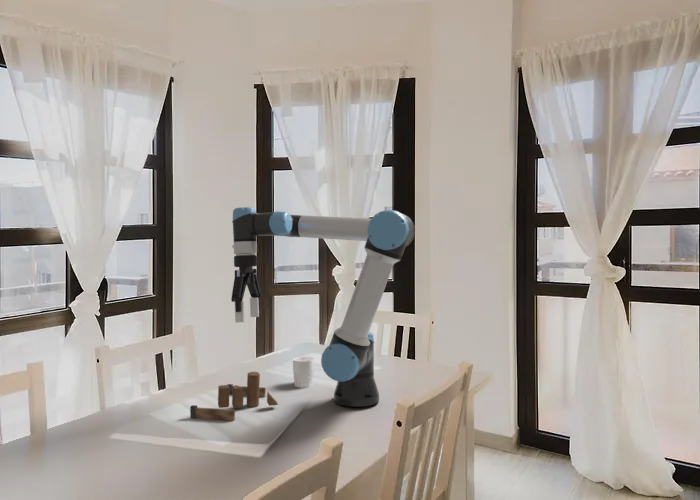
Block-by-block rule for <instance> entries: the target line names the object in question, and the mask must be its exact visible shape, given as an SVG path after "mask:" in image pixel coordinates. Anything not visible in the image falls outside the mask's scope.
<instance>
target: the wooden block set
mask: <svg viewBox="0 0 700 500" xmlns="http://www.w3.org/2000/svg"><path fill="white" fill-rule="evenodd" d="M260 375H261V374H260V372H257V371H250V372H248V373H247V375H246V377H247V378H246V379H247V380H246V381H247V382H246V387H247V396H246V406H247V407H249V408H255V407H258V406H260V405H259V404H260V397H259V387H260ZM239 386H240V385H233V389H232V394H231V397H232V400H231V405H232V407H233V409H234V408H235V409H236V408H243V407H244V395H243V390H242V389H241V388H240V387H239ZM217 387H218V389H217V390H218V391H217V393H218V395H217V406H218V409H226V408H230V394H229V390H230V388H229V386H228V384H224V385H223V384H222V385H221V384H220V385H218V386H217ZM266 403H267V405H268V406H278V405H279V403H278V402H277V400H276V399H275V398H274V397H273V396H272V395H271V394H270V393H269V392H268V391H267V393H266Z"/></svg>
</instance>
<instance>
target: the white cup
mask: <svg viewBox="0 0 700 500" xmlns="http://www.w3.org/2000/svg"><path fill="white" fill-rule="evenodd" d="M292 371H293V372H292V373H293V385H294V387H296V388H300V389H307V388H311V387H313V386H314V374H315V373H314V372H315V358H314V357H312V356H311V357H310V356H299V357H294V358H292Z"/></svg>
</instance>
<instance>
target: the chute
mask: <svg viewBox="0 0 700 500" xmlns="http://www.w3.org/2000/svg"><path fill="white" fill-rule="evenodd" d="M227 385H228V386H229V388H230V390H229V395H232V389H233V386H234V385H233V383H228V384H227ZM238 386H239V387H240V388H241V389H242V390H243V396H244V395H247V385H246V386H243V385H241V386H240V385H238ZM265 397H267V393H266V387H265V386H264V387H262V386H261V387H260V386H259V398H265ZM189 411H190V414H189V415H190V419H197V420H198V419H199V420H215V421H225V422H227V421H228V422H234V421H235V420H236V417H235V416H236V410H235V409H231V408H229V409H227V408H215V407H213V408H212V407H199V406H198V405H195V404H194V405H190V410H189Z"/></svg>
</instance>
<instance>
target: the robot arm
mask: <svg viewBox="0 0 700 500" xmlns="http://www.w3.org/2000/svg"><path fill="white" fill-rule="evenodd" d="M256 210H257V209H256V208H255V207H252V206H251V207H250V206H247V207H240V206H239V207H235V208H234V209H233V210H232V221H231V223H232V230H233V231H232V235H233V245H232V248H233V254H234V256H233V266H234V268H239V269H237V270H236V269H235V270H234V280H233V284H232V285H233V286H232V291H231V299H230V300H231V302H232V303H233V302H234V319H235V321H234V322H235V323H245V303H244V302H245V301H243V299H244V295H245V291H246V288H247V289H248V291H249V292H248V293H249V294H250V297H249V308H250V309H249V311H250V318H259V317H260V315H259V314H260V310H259V298H261V297H262V294H261V293H262V292H261V289H260V285H259V280H258V278H259V277H258V274H257V273H258V271H257V268H253V267H257V266H258V254H257V253H258V242H257V239H258V237H261V236H262V237H264V236H265V237H266V236H267V237H268V236H272V237H273V236H274V237H275V236H276V237H287V238H289V237H290V238H295V237H296V238H311V239H327V240H343V241H344V240H345V241H356V242H359V241H360V242H365V245H364V251H365V252H366V256H365V259H364V262H363V265H362V267H361V271H360V273H359V276H358V279H357V282H356V284H355V288H354V289H353V293H352V296H351V298H350V301H349V304H348V307H347V310H346V312H345V315H344V318H343V322H342V324H341V327H339V328H336V329H335V330H334V331H333V335H332V337H331V340H330V343H329V344H328V346H327V347H326V348H325V349H324V350H323V352H322V355H321V359H320V360H321V361H320V363H321V367H322V369H323V372H324V373H325V374H326V376H327V377H329V378H330V379H331V380H333V381H335V382H336V386H335V390H334V392H333V401H334V403H336V404H337V405H341V406H345V407H354V408H355V407H356V408H358V407H368V406H373V405H375V404H377V403H379V402H380V393H379V390H378V386H377V384H376V380H375V375H374V374H375V371H374V370H375V367H374V364H375V360H374V359H375V353H374V352H375V350H374V349H375V339H374V335H373V333H372V332H370V331H371V328H372V325H373V322H374V320H375V317H376V314H377V312H378V308H379V305H380V304H381V301H382V297H383V295H384V291H385V289H386V287H387V283H388V280H389V278H390V276H391V272H392V270H393V267H394V265H395V264H396V263H398V262H400V261H401V259H402V257H403V255H404V251H405V249H406V247H408V246H409V245H410V244H411V243H412V241H413V240H414V237H415V235H416V227H415V224H414V222H413V221H412V219H411V218H410V216H408V215H406V214H404V213H401V212H400V211H398V210H393V209H386V210H382V211H379V212H377V213H376V214H374V215H373V216H372V217H371V218H369V217H365V218H364V217H347V216H346V217H344V216H341V217H340V216H322V215H320V216H319V215H299V214H290V213H289V212H288V211H280V210H278V211H272V212H270V211H269V212H260V213H259V212H257V211H256ZM256 254H257V255H256Z"/></svg>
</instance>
